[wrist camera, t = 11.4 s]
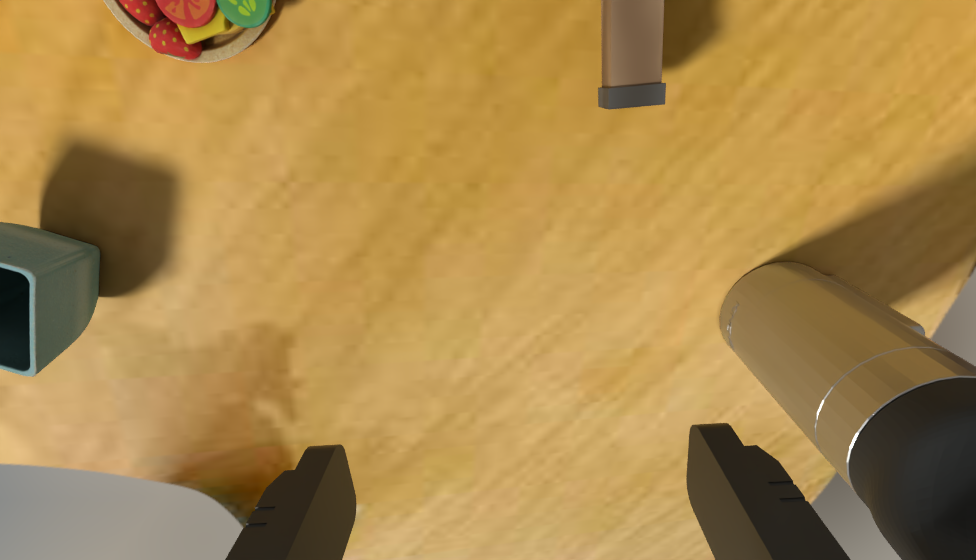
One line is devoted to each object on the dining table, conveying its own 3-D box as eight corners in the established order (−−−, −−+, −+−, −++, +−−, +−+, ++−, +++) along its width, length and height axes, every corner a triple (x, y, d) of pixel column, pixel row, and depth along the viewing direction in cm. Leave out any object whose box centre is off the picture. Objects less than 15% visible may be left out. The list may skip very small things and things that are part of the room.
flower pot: (121, 324, 45) (34, 380, 37) (17, 294, 44) (-96, 345, 36) (127, 234, 42) (34, 272, 33) (16, 200, 41) (-108, 231, 33)
